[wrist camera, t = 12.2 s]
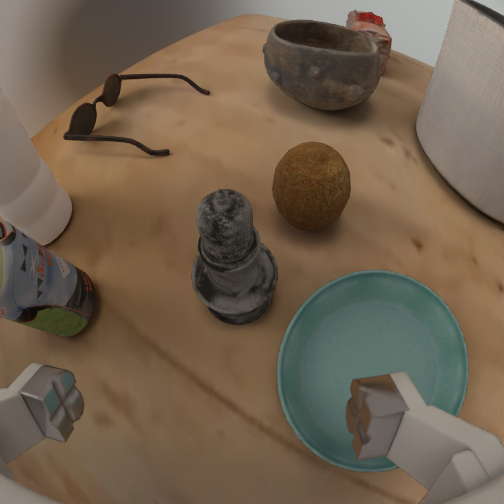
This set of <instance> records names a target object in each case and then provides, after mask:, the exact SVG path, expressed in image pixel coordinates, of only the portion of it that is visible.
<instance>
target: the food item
mask: <svg viewBox="0 0 504 504" xmlns="http://www.w3.org/2000/svg"><path fill="white" fill-rule="evenodd" d="M385 26H386V25H385V24H383V20H382V17H380V16H376V15H374V14H373V13H372V12H360V11H356V10H355V11H351V12H349V14H348V19H347V21H346V27H347V28H350V29H353V30H356V31H358V32H360V33H362V34H364V35H366V36H368V37H369V38H370V39H372V40H373V41H374V42H375V44H376V45H377V47H378V50H379V54H380V57H381V58H382V61H383V65H382V67H381V75H382V73H383V72H384V69H385V67H386V63H387V60H388V57H389V56H390V55H389V53H390V50H391V42H392V38H391V37H390V35H389V34H388V32H387V30H386V29H385Z"/></svg>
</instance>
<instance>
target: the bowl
mask: <svg viewBox="0 0 504 504" xmlns="http://www.w3.org/2000/svg"><path fill="white" fill-rule="evenodd" d="M263 53H264V60H265V67H266V70H267V73H268V75H269V77H270V79H271V80H272V81H273V82H274V83H275V84H276V85H277V86H278V87H279V88H280V89H281V90H282V91H283V92H285V93H286V94H287V95H289V96H290V97H293V98H295V99H296V100H298V101H301V102H303V103H304V104H306V105H308V106H310V107H313V108H316V109H321V110H340V109H344V108H348V107H352V106H355V105H357V104H359V103H361V102H363V101H365V100H366V99H367V98H368V97H369V96H370V95H371V94H372V93H373V92H374V90H375V89H376V87H377V85H378V82H379V79H380V75H381V67H382V65H383V61H382V58H381V57H380V54H379V50H378V47H377V45H376V44H375V42H374V41H373V40H372V39H370V38H369V37H368V36H366V35H364V34H362V33H360V32H358V31H356V30H353V29H350V28H347V27H344V26H340V25H335V24H330V23H325V22H319V21H313V20H291V21H285V22H281V23H278V24H276V25H275V26H274V27H273V28H272V29H271V31H270V33H269V35H268V39H267V42H266V44H264V45H263Z"/></svg>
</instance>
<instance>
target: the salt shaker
mask: <svg viewBox="0 0 504 504" xmlns="http://www.w3.org/2000/svg"><path fill="white" fill-rule="evenodd" d="M196 223H197V227H198V230H199V233H200V238H199V242H198V251H199V255H198V256H197V257H196V260H195V262H194V265H193V268H192V276H191V278H192V283H193V288H194V290H195V292H196V294H197V296H198V297H199V299H200V300H201V301H202V302H203V303H204V304H205V305H206V306H207V307H208V309H209V311H210V312H211V313H212V314H213V315H214V316H215V317H216V318H218V319H219V320H221V321H223V322H226V323H229V324H245V323H250V322H252V321H254V320H256V319H257V318H259V317H260V316H261V315H262V314H263V313H264V312H265V311H266V309H267V308H268V306H269V304H270V301H271V297H272V293H273V291H274V289H275V286H276V283H277V279H278V267H277V264H276V261H275V258H274V256H273V255H272V253H271V252H270V250H269V249H268V248H267V247H265V246H264V245H263V244H262V243H261V242H260V237H259V233H258V231H257V230H256V228H255V227H254V226H253V215H252V208H251V205H250V203H249V201H248V200H247V198H246V197H245V196H243V195H242V194H241V193H239V192H236V191H234V190H229V189H219V190H217V191H214V192H212V193H210V194H209V195H207V196H206V197H205V198H204V199H203V200H202V201H201V202H200V204H199V206H198V208H197V212H196Z"/></svg>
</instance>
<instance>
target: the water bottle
mask: <svg viewBox="0 0 504 504" xmlns="http://www.w3.org/2000/svg"><path fill="white" fill-rule="evenodd" d="M71 213H72V203H71V200H70V198H69V196H68V194H67V193H66V192H65V190H64V189H63V188H62V186H61V185H60V184H59V183H58V182H57V181H56V180H55V178H54V176H53V173H52V172H51V170H50V168H49V167H48V165H47V164H46V163H45V161H44V160H43V159H42V158H41V157H39V155H38V153H37V150H36V148H35V146H34V144H33V142H32V141H31V139H30V137H29V135H28V133H27V132H26V130H25V128H24V126H23V125H22V123H21V121H20V119H19V117H18V116H17V114H16V112H15V110H14V109H13V107H12V105H11V104H10V102H9V101H8V99H7V97H6V96H5V94H4V93H3V91H2V90H1V89H0V216H1V217H2V218H3V219H4V220H5V221H6V222H8V223H10V224H11V225H13V226H14V227H15V228H17V229H18V230H20V231H21V232H23V233H24V234H26V235H27V236H29V237H30V238H31V239H33V240H34V241H36V242H37V243H39V244H40V245H42V246H43V245H46V244H48V243H50V242H52V241H53V240H54V239H56V238H57V237H58V236H59V235H60V234H61V233H62V232H63V230H64V229H65V227H66V226H67V224H68V222H69V220H70V217H71Z"/></svg>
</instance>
